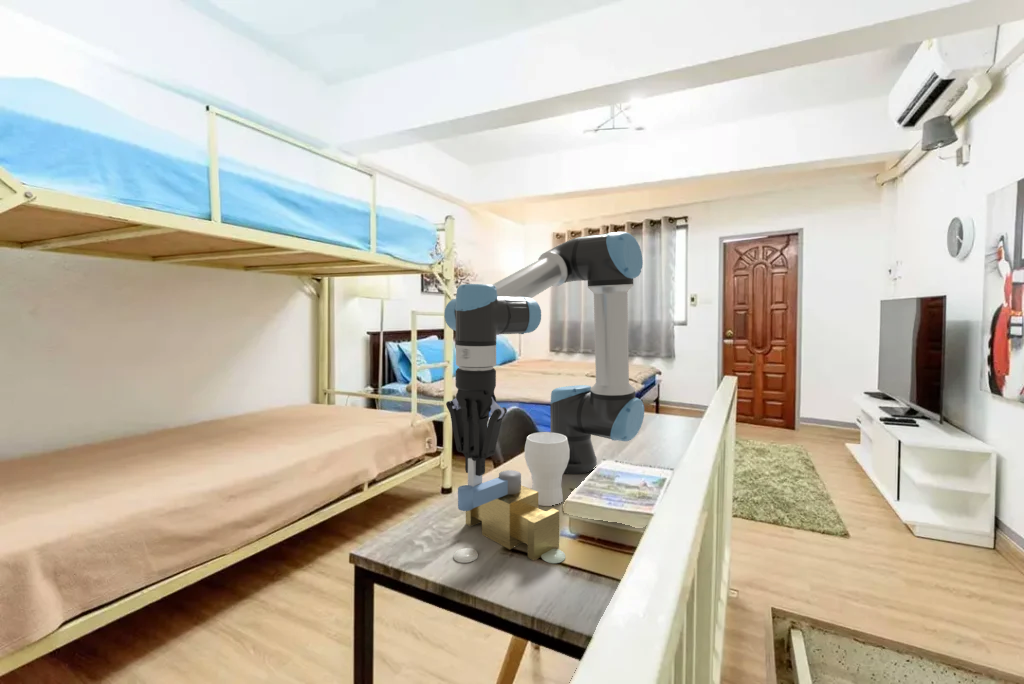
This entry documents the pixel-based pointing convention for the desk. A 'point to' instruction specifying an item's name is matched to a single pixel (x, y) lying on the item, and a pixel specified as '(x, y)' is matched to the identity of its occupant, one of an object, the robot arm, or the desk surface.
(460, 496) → the lever
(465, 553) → the white domed disc
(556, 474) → the cup
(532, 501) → the valve body
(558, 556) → the pale green round dome
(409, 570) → the desk surface
